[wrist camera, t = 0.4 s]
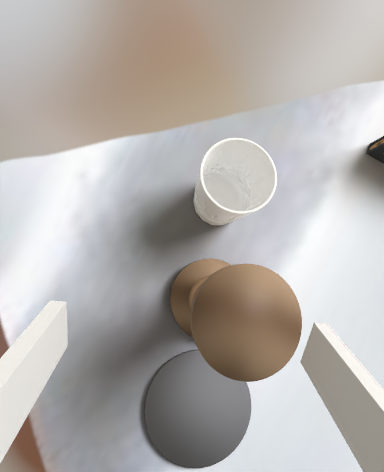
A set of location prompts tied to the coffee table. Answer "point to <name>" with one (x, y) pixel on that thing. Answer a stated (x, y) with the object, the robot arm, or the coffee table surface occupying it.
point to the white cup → (233, 181)
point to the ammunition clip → (377, 149)
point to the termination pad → (195, 412)
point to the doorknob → (238, 317)
